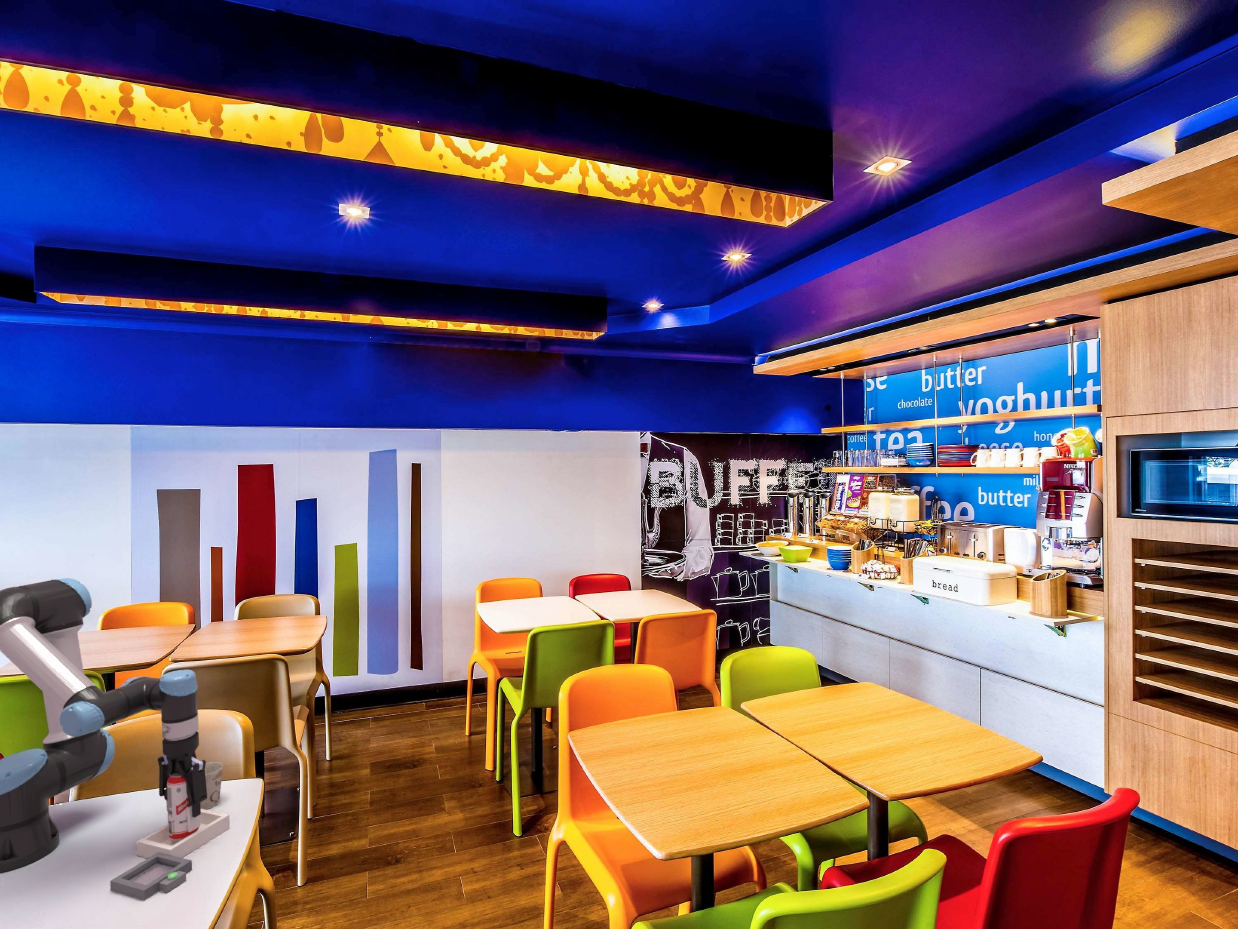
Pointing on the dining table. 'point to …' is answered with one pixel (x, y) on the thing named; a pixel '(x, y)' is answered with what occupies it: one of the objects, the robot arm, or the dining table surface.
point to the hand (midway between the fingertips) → (184, 826)
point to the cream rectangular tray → (162, 843)
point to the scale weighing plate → (151, 874)
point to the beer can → (177, 807)
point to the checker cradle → (160, 884)
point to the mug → (212, 784)
